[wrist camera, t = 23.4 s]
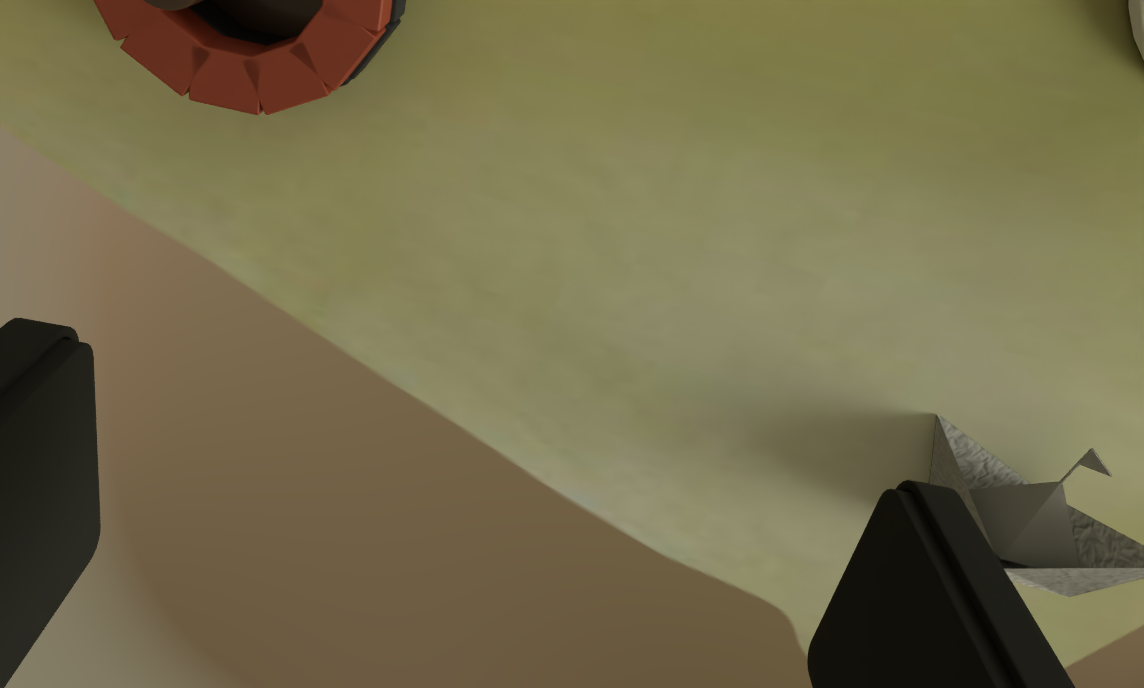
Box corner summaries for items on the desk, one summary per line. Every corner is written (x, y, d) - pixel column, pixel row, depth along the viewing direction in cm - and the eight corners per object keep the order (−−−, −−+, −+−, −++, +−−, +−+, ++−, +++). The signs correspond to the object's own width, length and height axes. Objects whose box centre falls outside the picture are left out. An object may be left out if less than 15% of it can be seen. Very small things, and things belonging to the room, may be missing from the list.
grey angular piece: (857, 531, 46) (943, 413, 39) (900, 459, 50) (984, 342, 44) (1086, 683, 42) (1223, 580, 36) (1112, 591, 46) (1239, 485, 40)
